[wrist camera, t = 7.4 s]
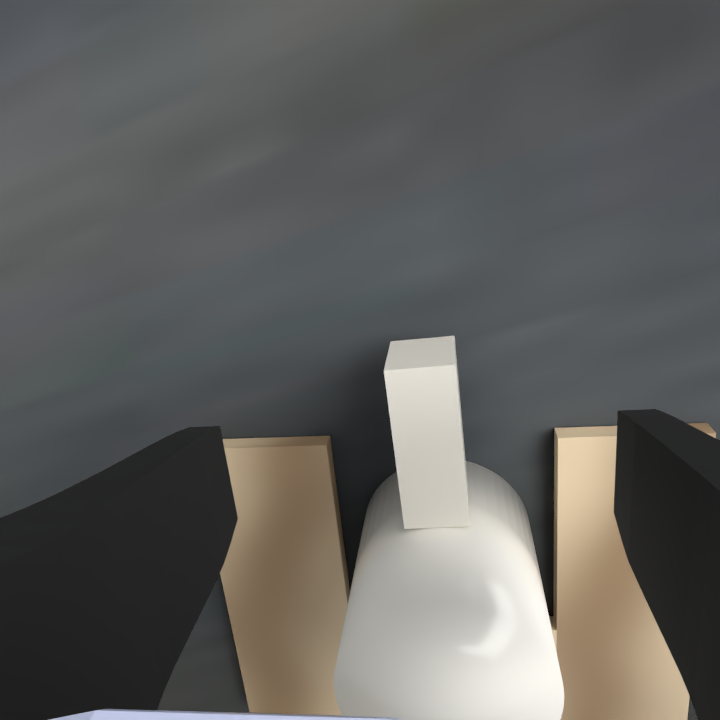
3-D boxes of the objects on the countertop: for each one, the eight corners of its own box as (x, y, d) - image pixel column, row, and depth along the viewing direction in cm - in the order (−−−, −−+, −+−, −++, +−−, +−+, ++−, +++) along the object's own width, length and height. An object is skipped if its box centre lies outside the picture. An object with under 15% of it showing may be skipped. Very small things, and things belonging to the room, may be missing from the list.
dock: (706, 422, 17) (715, 433, 17) (679, 710, 21) (686, 726, 20) (201, 439, 19) (193, 449, 19) (254, 698, 23) (249, 712, 22)
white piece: (534, 615, 20) (568, 803, 15) (378, 617, 21) (354, 797, 16) (518, 313, 17) (554, 409, 11) (333, 330, 18) (283, 427, 12)
